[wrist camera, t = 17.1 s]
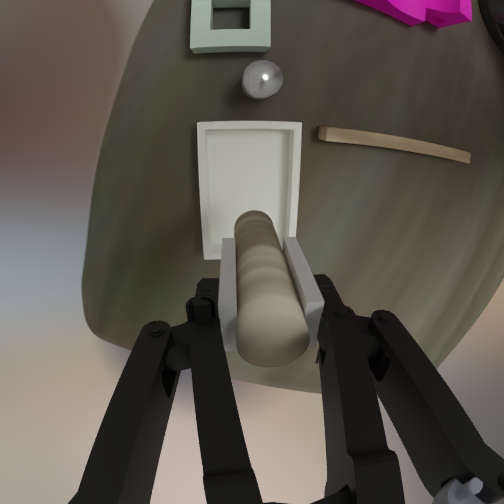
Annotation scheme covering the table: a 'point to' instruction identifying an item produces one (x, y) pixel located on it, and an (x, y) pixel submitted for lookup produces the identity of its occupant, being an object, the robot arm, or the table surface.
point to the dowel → (265, 296)
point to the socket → (230, 39)
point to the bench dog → (261, 79)
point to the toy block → (425, 10)
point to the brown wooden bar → (391, 142)
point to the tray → (247, 176)
